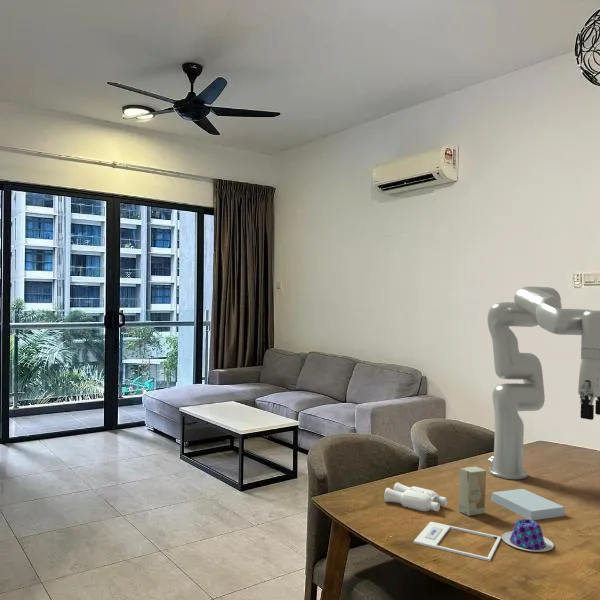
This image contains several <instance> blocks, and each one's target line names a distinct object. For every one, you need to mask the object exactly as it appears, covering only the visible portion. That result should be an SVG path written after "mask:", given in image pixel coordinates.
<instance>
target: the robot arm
mask: <svg viewBox="0 0 600 600" xmlns="http://www.w3.org/2000/svg"><path fill="white" fill-rule="evenodd" d="M513 300H514V301H513V302H510V301H507V302H505V301H504V302H498V303H495V304H493V305H492V306H491V307H490V308H489V310H488V314H487V326H488V329H489V330H488V331H489V333H490V337H491V341H492V349H493V350H492V351H493V363H494V371H495V374H496V376H497V377H498V378H499V379H501V380H512V381H513V380H517V381H518V380H522V381H523V383H517V382H515V383H509V382H507V383H502V384H499V385H498V384H497V386H495V388H493V391H492V401H493V408H494V410H493V411H494V437H493V438H494V440H493V442H494V443H493V455H492V456H491V457H490V458H488V459H487V461H488V463H491V466H490V467H489V468H488V472H489V474H490V475H491V476H495V477H498V478H502V479H507V480H508V479H509V480H523V479H526V478H527V477H528V472H527V471H526V470H524V469H523V467H524V465H523V464H524V435H525V434H524V432H525V430H524V429H525V427H524V421H523V420H522V418H521V416H520V415H519V412H536V411H539V410H541V409H542V408H543V407H544V406H545V401H546V400H545V398H546V397H545V396H546V395H545V385H544V375H543V367H542V363H541V360H540V359H539V357H538V356H537V355H535V354H533V353H531V352H520V349H519V341H518V338H517V336H516V334H515V332H513V330H512V329H511V328H510V327H520V328H522V327H524V328H525V327H526V328H533V327H537V326H539V327H540V328H542V329H543V330H545V331H547V332H550V333H552V334H555V335H558V336H560V335H561V336H562V335H563V336H564V335H565V336H567V335H568V336H581V339H580V340H581V343H580V346H581V347H580V360H581V362H580V366H579V376H578V387H577V393H578V395H579V398H580V401H579V402H580V418H581V419H583V420H590V421H593V420H594V419H595V418H594V417H595V416H594V414H595V415H597V416H600V310H592V309H581V308H562V302H561V300H562V299H561V295H560V293H559V292H558V290H557V289H555V288H553V287H549V286H523V287H521V288H519V289H518V290H516V292H515V294H514V296H513ZM595 398H596V399H595ZM594 401H595V405H594ZM594 412H595V413H594Z"/></svg>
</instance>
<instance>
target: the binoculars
mask: <svg viewBox="0 0 600 600" xmlns="http://www.w3.org/2000/svg"><path fill="white" fill-rule="evenodd" d="M383 499H384V500H383V501H384V502H385V501H386V503H398V504H400V505H402V507H404V508H407V507H408V509H411V508H412V509H411V510H415V509H416V511H419V510H420V512H429V511H434V512H439V511H440V508H441V506H445V507H446V506H447V505H448V498H447V497H444V496H442V495H441V496H440V495H439V494H438V493H437V492H436V491H434V490H432V489H431V490H430V489H427V488H423V487H419V486H415V485H413V486H411V487H410V486H407V485H404V484H402V483H400V482H396V483H395V484H394V485H393V489H392V488H390V487H386V488H385V490H384V493H383Z"/></svg>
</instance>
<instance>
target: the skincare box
mask: <svg viewBox="0 0 600 600" xmlns="http://www.w3.org/2000/svg"><path fill="white" fill-rule="evenodd" d="M486 481H487V470H486V469H484V468H481V467H478V466H472V467H471V466H469V467H462V468H459V487H458V488H459V490H458V506H457V507H458V509H457V511H458V512H460V513H462V514H464V515H467V516H468V517H470V516H474V515H481V514H485V510H486V509H485V508H486V503H485V502H486V486H487V485H486V483H487V482H486Z"/></svg>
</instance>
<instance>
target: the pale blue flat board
mask: <svg viewBox="0 0 600 600" xmlns="http://www.w3.org/2000/svg"><path fill="white" fill-rule="evenodd" d="M490 499H491V502H493V503H495V504H497V505H499V506H501V507H503V508H505V509H506V510H509V511H512V512H513V513H514V514H517V515H519V516H521V517H523V518H524V519H527V520H532V521H538V520H545V519H551V518H559V517H565V506H563V505H561V504H559V503H556V502H555V501H552V500H550V499H547V498H545V497H544V496H541V495H538V494H536V493H534V492H531V491H529V490H526V489H525V488H519V489H510V490H509V489H508V490H501V491H492V492H491V498H490Z"/></svg>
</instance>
